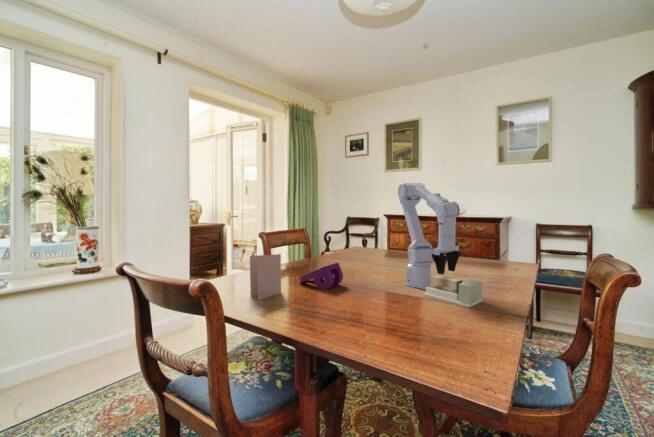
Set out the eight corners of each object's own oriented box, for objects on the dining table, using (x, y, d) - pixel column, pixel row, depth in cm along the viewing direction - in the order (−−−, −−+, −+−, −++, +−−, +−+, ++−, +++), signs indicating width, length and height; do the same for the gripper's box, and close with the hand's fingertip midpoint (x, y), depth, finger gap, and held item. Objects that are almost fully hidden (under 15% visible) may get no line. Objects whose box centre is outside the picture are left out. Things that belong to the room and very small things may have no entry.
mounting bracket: (301, 298, 134) (332, 286, 124) (294, 279, 136) (325, 266, 126) (314, 293, 142) (345, 281, 132) (308, 275, 143) (338, 262, 133)
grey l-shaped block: (423, 295, 118) (424, 277, 117) (438, 290, 124) (438, 273, 124) (469, 307, 105) (469, 286, 104) (482, 301, 111) (482, 281, 111)
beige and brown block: (430, 292, 119) (430, 276, 118) (436, 290, 121) (436, 274, 121) (457, 298, 111) (457, 281, 111) (462, 296, 114) (462, 279, 113)
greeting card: (280, 292, 123) (280, 253, 122) (284, 297, 116) (283, 257, 115) (250, 295, 120) (249, 255, 119) (252, 301, 112) (251, 259, 112)
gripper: (447, 238, 107) (446, 277, 108) (467, 234, 117) (466, 271, 118) (428, 236, 113) (427, 273, 113) (449, 233, 122) (448, 268, 123)
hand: (446, 272), depth 116 cm, fingers open, 7 cm apart
